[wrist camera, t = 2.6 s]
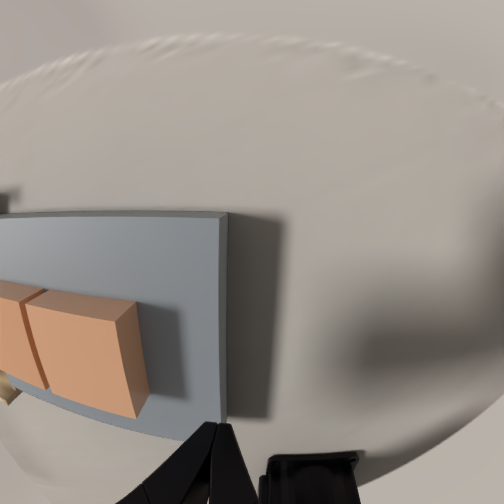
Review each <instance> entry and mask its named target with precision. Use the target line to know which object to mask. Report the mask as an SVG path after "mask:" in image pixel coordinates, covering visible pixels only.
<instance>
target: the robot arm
mask: <svg viewBox="0 0 504 504" xmlns="http://www.w3.org/2000/svg"><path fill="white" fill-rule="evenodd" d="M358 461H359V455H358V453H345V454H334V455H319V456H274V457H270V458H269V459H268V462H267V469H266V475H262V476H260V477H259V485H258V495H257V494H256V491H255V489H254V486H253V484H252V481H251V478H250V476H249V473H248V470H247V468H246V465H245V462H244V459H243V457H242V454H241V451H240V448H239V445H238V442H237V440H236V437H235V434H234V431H233V428H232V425H231V424H229V423H217V422H210V421H205V422H204V423H203V424H202V425H201V426H200V427H199V428H198V429H197V430H196V431H195V432H194V433H193V434H192V435H191V436H190V437H189V438H188V439H187V440H186V441H185V442H184V443H183V444H182V445H181V446H180V447H179V448H178V449H177V450H176V451H175V452H174V453H173V454H172V455H171V456H170V457H169V458H168V459H167V460H166V461H165V462H164V463H162V464H161V465H160V466H159V467H158V468H157V469H156V470H155V471H154V472H153V473H152V474H151V475H150V476H149V477H147V478H146V479H145V480H144V481H143V482H142V484H140V485H138V486H137V487H136V488H135V489H134V490H133V491H132V492H130V493H129V494H128V495H127V496H125V497H124V498H123V499H121V500H120V501H118V502H117V503H115V504H207V501H208V498H209V504H361V502H360V498H359V493H358V489H357V485H356V481H355V477H354V472H353V471H354V469H355V467H356V465H357V463H358Z"/></svg>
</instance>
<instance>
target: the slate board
mask: <svg viewBox="0 0 504 504" xmlns="http://www.w3.org/2000/svg"><path fill="white" fill-rule="evenodd" d="M227 238H228V212H199V211H69V212H38V213H16V214H0V280H3V281H8V282H13V283H18V284H23V285H28V286H34V287H40V288H44V293H45V292H46V291H48V290H50V289H51V290H57V291H63V292H70V293H76V294H83V295H90V296H97V297H105V298H112V299H120V300H129V301H136V304H137V313H138V321H139V329H140V336H141V343H142V350H143V356H144V362H145V368H146V374H147V379H148V384H149V389H150V395H149V397H148V398H147V400H146V402H145V404H144V406H143V408H142V410H141V412H140V414H139V415H138V417H137V419H133V418H129V417H125V416H121V415H118V414H114V413H110V412H107V411H103V410H100V409H97V408H93V407H90V406H87V405H84V404H81V403H78V402H75V401H72V400H69V399H67V398H64V397H61V396H59V395H56V394H53V393H52V391H51V388H50V387H49V388H48V389H47V390H43V389H41V388H39V387H36V386H34V385H32V384H29V383H27V382H25V381H23V380H21V379H18V378H16V377H14V376H12V375H10V374H8V373H6V374H7V376H8V379H9V381H10V383H11V385H12V386H14V387H16V388H18V389H20V390H22V391H24V392H26V393H28V394H30V395H32V396H34V397H37V398H39V399H41V400H43V401H46V402H48V403H50V404H53V405H55V406H58V407H60V408H63V409H65V410H68V411H71V412H73V413H76V414H79V415H82V416H85V417H88V418H91V419H94V420H97V421H100V422H103V423H106V424H110V425H113V426H117V427H120V428H124V429H128V430H132V431H136V432H140V433H144V434H149V435H153V436H158V437H163V438H168V439H173V440H179V441H186V440H187V439H188V438H189V437H190V436H191V435H192V434H193V433H194V432H195V431H196V430H197V429H198V428H199V427H200V426H201V425H202V424H203V423H204V422H205V421H210V422H217V423H226V421H227V361H226V313H227Z"/></svg>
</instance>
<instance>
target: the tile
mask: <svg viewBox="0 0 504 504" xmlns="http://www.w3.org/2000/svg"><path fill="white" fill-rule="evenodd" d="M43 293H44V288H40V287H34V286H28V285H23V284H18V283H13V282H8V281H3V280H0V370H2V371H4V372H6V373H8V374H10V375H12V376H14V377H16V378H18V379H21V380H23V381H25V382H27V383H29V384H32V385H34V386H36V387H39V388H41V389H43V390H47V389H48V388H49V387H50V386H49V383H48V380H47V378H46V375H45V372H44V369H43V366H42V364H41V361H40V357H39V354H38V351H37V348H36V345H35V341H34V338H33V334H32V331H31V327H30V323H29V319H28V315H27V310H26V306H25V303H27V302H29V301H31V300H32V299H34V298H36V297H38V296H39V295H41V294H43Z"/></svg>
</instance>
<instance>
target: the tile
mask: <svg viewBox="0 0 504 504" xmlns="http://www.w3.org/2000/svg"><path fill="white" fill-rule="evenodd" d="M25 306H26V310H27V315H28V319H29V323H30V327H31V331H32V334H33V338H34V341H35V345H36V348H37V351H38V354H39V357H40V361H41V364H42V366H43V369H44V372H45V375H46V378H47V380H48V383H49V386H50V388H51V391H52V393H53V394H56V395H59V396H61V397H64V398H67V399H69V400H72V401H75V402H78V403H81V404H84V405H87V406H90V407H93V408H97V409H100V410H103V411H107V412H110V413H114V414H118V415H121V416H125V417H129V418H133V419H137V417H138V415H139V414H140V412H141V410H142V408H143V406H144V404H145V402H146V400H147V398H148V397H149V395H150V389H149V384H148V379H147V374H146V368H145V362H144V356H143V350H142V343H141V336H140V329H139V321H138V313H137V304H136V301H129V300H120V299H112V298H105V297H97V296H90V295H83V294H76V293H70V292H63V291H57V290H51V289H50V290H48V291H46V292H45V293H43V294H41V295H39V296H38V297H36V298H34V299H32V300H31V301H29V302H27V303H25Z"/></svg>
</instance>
